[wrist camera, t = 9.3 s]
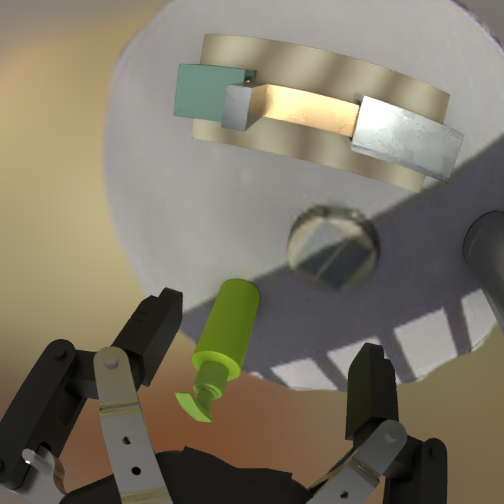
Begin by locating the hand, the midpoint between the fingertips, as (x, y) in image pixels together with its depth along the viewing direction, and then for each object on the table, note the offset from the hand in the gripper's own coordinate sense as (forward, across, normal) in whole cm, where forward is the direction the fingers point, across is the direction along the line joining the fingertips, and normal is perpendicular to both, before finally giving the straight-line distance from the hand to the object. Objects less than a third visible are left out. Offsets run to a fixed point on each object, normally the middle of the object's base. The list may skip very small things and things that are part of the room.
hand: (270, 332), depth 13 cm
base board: (+24, 0, -7) cm, 25 cm away
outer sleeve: (+24, -8, -7) cm, 26 cm away
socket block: (+24, +10, -7) cm, 27 cm away
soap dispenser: (+24, +4, +20) cm, 32 cm away
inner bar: (+22, +1, -7) cm, 23 cm away
